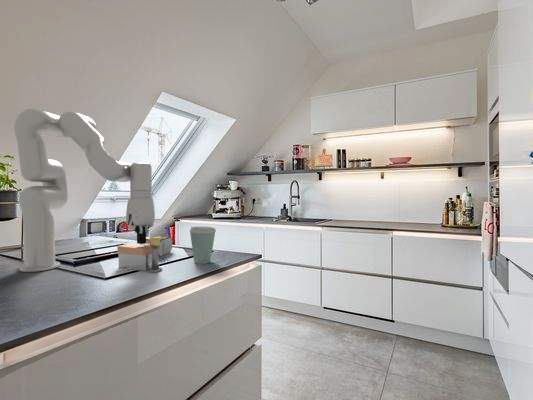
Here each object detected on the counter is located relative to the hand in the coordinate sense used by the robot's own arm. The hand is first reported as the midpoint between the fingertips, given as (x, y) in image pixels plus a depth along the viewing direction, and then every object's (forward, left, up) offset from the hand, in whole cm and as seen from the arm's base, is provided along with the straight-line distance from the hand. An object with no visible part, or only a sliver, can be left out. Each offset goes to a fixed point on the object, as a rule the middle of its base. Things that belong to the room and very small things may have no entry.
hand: (141, 243), depth 116 cm
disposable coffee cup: (+15, +18, -10) cm, 25 cm away
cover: (-3, 0, -4) cm, 5 cm away
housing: (0, 0, -10) cm, 10 cm away
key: (+4, +1, 0) cm, 4 cm away
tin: (-10, +22, -10) cm, 26 cm away
